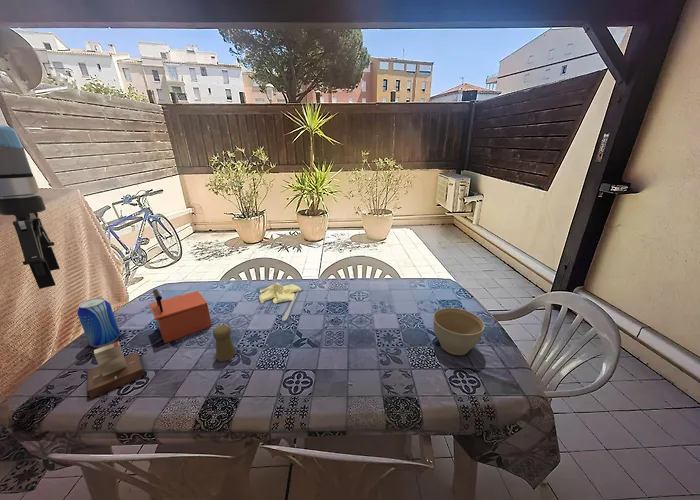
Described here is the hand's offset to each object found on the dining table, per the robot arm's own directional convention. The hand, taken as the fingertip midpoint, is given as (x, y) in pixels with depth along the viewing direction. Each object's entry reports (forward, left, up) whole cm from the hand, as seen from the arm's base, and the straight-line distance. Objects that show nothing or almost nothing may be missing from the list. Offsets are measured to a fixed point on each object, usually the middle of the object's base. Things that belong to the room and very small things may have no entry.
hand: (50, 277), depth 71 cm
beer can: (-2, +18, -33) cm, 38 cm away
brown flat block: (+8, -4, -33) cm, 34 cm away
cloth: (+60, +31, -33) cm, 75 cm away
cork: (+38, -6, -33) cm, 51 cm away
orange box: (+23, +17, -33) cm, 43 cm away
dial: (+8, -4, -30) cm, 31 cm away
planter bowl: (+112, -31, -33) cm, 121 cm away
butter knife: (+64, +19, -33) cm, 75 cm away
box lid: (+23, +17, -23) cm, 36 cm away
